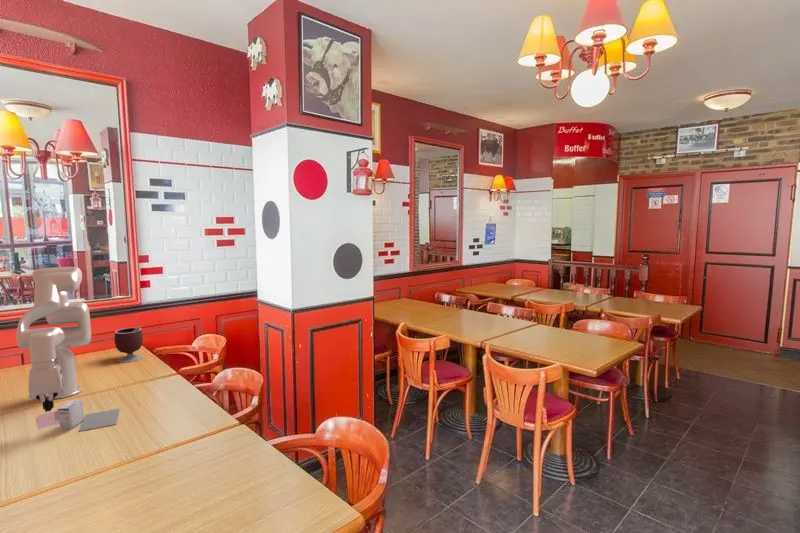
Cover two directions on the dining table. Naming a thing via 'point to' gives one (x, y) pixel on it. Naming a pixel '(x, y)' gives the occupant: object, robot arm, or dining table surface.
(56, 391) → the robot arm
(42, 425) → the mobile phone
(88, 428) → the mat
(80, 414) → the medicine box
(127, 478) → the dining table surface
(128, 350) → the mate gourd
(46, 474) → the dining table surface
